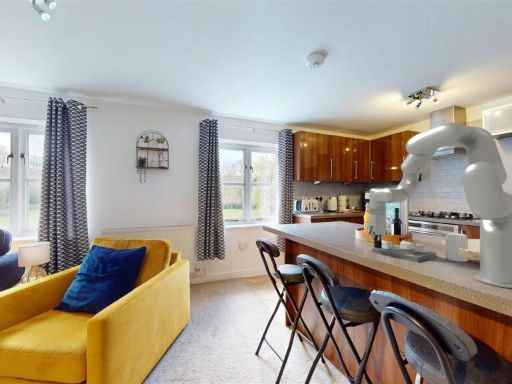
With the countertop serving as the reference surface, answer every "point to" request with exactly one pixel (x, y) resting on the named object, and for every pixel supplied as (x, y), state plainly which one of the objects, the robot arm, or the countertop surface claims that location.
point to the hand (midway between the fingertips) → (377, 247)
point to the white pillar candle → (455, 246)
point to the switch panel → (405, 253)
